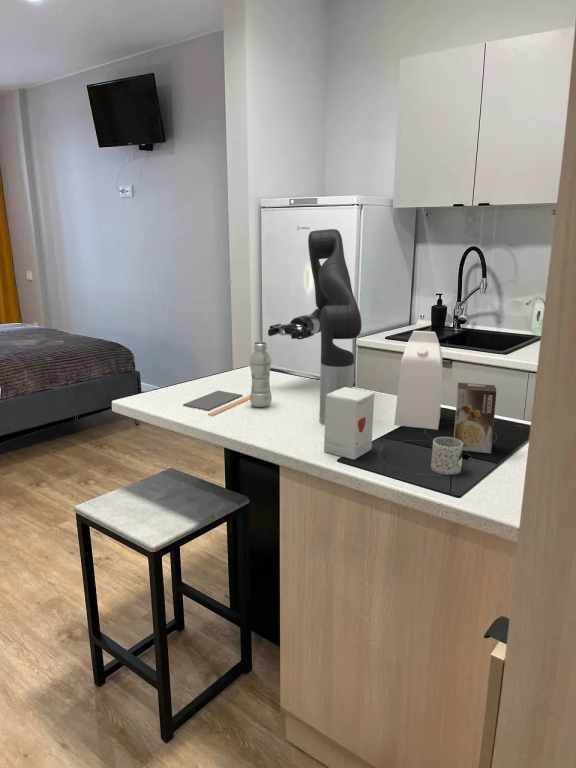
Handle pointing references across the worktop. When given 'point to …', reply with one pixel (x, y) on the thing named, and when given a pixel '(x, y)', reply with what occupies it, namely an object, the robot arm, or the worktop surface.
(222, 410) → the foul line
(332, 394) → the supplement box
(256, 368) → the plastic bottle
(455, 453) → the mug
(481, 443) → the brown food box
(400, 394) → the milk
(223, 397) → the mat
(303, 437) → the worktop surface
